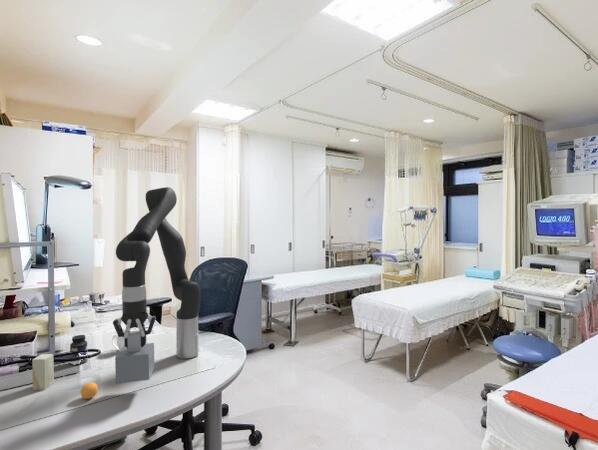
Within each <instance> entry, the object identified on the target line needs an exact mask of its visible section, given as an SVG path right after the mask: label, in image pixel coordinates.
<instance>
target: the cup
mask: <svg viewBox="0 0 598 450" xmlns="http://www.w3.org/2000/svg"><path fill="white" fill-rule="evenodd" d="M123 332H125V330H123ZM115 338H116V344H117V345H116V344H115ZM111 343H112V346H113V347H114V348H115V349H116V351H117V350H118V351H120V350H121V349H122V347H123V346H125V343H124V337H118V335H117V333H116V334H114V335H113V336H112V342H111Z"/></svg>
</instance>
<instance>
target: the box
mask: <svg viewBox="0 0 598 450" xmlns="http://www.w3.org/2000/svg"><path fill="white" fill-rule="evenodd" d="M31 360H32V362H31V363H32V365H31V366H32V390H33V391H42V390H44V391H45V390H47V389H48V388H49V387H51V386H52V385H53V384H55V375H54V374H55V372H54V371H55V368H54V363H55V362H54V353H41V354H40V355H38V356H36V357H34V358H33V359H31Z"/></svg>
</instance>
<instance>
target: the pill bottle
mask: <svg viewBox="0 0 598 450" xmlns="http://www.w3.org/2000/svg"><path fill="white" fill-rule="evenodd" d="M71 339H72V340H71V341H72V342H71V343H70V344H69V345H70V346H69V353H70V352H77V351H86V350H87V352H82V353H80V354H81V355H86V354H87V355H88V341H87V340H86V335H85V334H78V335H77V334H76V335H74V336H72V338H71ZM87 361H88V358H87V359H83V360H81V362H80V363H81V364H80V365H83V364H84V363H86V362H87Z"/></svg>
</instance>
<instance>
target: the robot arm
mask: <svg viewBox="0 0 598 450" xmlns="http://www.w3.org/2000/svg"><path fill="white" fill-rule="evenodd" d="M145 202H146V206H147V209H148V212H147V213H146V214H144V215H143V216H142V217H141V218H140V219H139V220H138V222H137V223H136V225H135V226H134V228H133V230H132V231H131V232H129V233H128V234H127V235H126V236H125V237H124V238H122V239H121V240H120V241H119V243H118V244H117V246H116V249H115V256H116V258H117V259H118V260H119V261H120V262H135V265H134V266H133V267H130V268H129V267H128V268H125V269H124V270H122V275H121V276H122V290H121V291H122V292H121V301H122V304H121V305H122V307H121V308H122V311H121V313H122V315H121V317H119V318H115V319H114V320H113V321H112V325H113V327H114V330H115V332H116V334H117V335H118V337H124V343H125V347H127V349H128V337H127V335H128V334H129V333H130V331H132V329H133V328H135V329H138V331H140V333H141V347H144V345H145V344H147V336H148V335H151V333H152V331H153V328H154V325H155V322H156V319H157V316H156V315H153V316H152V315H149V314H148V310H147V289H146V288H147V287H146V269H147V266H148V261H149V257H150V254H151V248H150V245H149V243H150V242H151V241H152V239H153V237H154V236H155V234H156V233H157V236H158V239H159V242H160V247H161V250H162V253H163V257H164V261H165V262H166V266H167V269H168V273H169V276H170V282H171V283H170V284H171V288H172V292H173V296H174V297H175V299H177V300H178V301H180V309H179V308H178V310H177V311H176V318H175V319H176V321H175V322H176V323H175V324H176V337H175V338H176V350H175V351H176V358H177V359H181V360H183V359H185V360H187V359H191V358H195V357H198V356H199V350H200V347H199V343H200V341H199V340H200V339H199V338H200V337H199V334H200V333H199V312H200V309H201V298H202V297H201V293H202V292H201V287H200V284H198V283H197V282H195V281H192V280H190V279H189V278H188V277H189V276H188V274H187V271H186V267H185V266H186V256H187V251H186V246H185V243H184V240H183V236H182V234H181V233H180V232H178V230H177V229H176V228H175V227H173V226H172V225H171V224H170V223H169V221H168V220H167V219H166V218H167V216H168V215H169V214H170V212H172V210H173V209H174V208H175V206H176V204H177V195H176V191H175V190H174V189H173V188H172V187H160V188H153V189H150V190H147V192H146V193H145ZM146 320H148V321H147V322H148V323H149V325H148V327H147V329H146V325H145V322H146ZM122 323H123V324H124V325H125V330H123V328H122V325H121V324H122ZM124 331H125V332H124Z"/></svg>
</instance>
